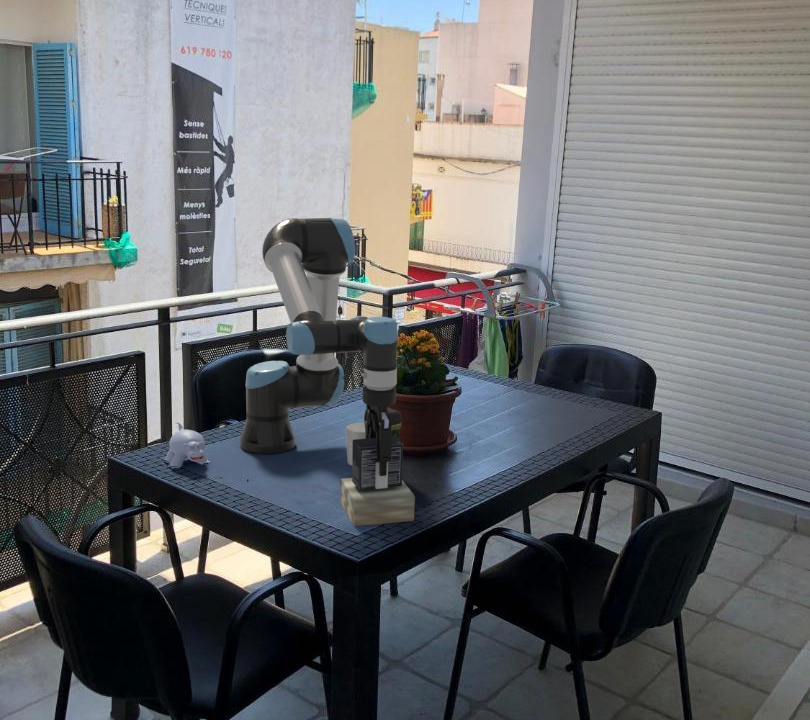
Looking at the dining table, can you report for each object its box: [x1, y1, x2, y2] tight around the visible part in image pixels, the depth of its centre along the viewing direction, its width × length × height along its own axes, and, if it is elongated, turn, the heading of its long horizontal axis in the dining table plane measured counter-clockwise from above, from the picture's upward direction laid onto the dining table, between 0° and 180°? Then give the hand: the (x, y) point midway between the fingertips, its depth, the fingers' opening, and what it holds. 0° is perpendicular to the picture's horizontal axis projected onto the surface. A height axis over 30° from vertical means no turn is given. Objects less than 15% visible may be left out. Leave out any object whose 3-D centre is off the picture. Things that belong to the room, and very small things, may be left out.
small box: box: [351, 436, 404, 491], centre depth 214 cm, size 11×6×10 cm, turn 110°
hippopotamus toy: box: [164, 422, 211, 466], centre depth 243 cm, size 11×15×10 cm
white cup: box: [345, 422, 365, 467], centre depth 247 cm, size 8×8×10 cm
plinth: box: [340, 477, 416, 527], centre depth 216 cm, size 14×14×6 cm
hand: (377, 482), depth 215 cm, fingers closed on small box, 6 cm apart
